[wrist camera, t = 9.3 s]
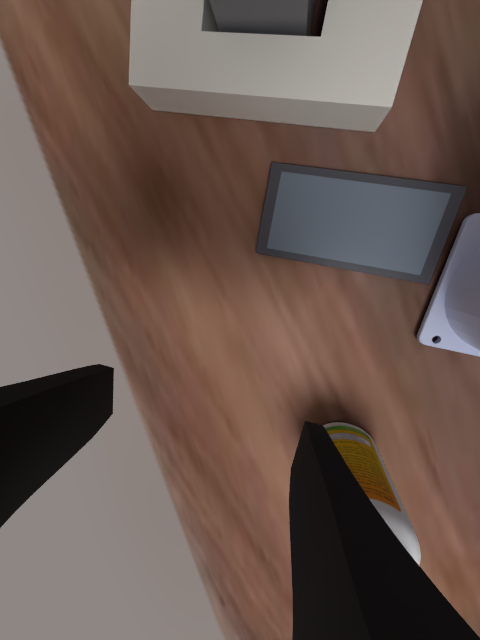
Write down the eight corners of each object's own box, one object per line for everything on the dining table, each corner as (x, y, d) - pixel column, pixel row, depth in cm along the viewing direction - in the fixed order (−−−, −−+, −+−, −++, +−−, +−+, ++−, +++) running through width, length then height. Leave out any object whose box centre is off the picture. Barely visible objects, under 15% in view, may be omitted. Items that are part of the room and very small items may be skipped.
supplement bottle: (291, 437, 20) (291, 589, 11) (351, 408, 19) (410, 559, 9) (329, 485, 21) (359, 669, 11) (390, 461, 19) (483, 655, 10)
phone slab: (273, 167, 16) (271, 161, 15) (456, 191, 14) (468, 186, 13) (257, 253, 18) (255, 253, 17) (420, 282, 16) (429, 284, 15)
